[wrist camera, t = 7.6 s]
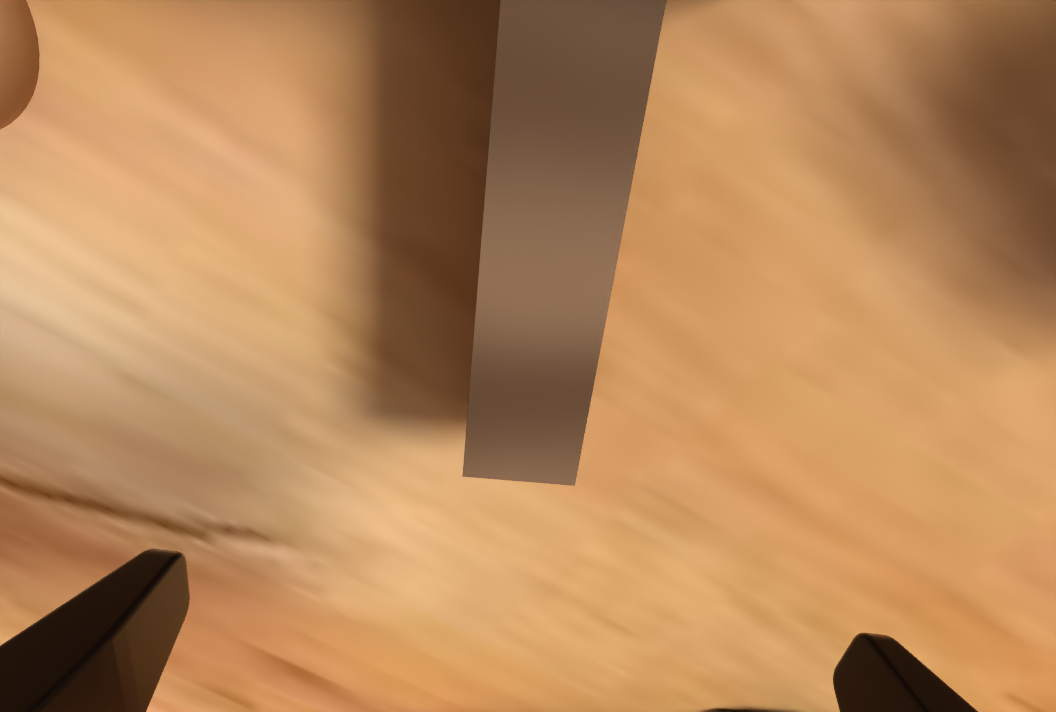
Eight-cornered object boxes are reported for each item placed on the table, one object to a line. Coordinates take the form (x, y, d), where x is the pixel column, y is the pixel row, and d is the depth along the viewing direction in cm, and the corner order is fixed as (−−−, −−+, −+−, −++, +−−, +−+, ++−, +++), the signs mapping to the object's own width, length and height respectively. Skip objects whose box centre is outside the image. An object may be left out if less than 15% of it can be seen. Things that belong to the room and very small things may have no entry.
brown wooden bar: (565, 407, 19) (574, 485, 15) (472, 399, 18) (462, 476, 15) (717, -505, 10) (806, -746, 7) (550, -536, 10) (563, -797, 7)
